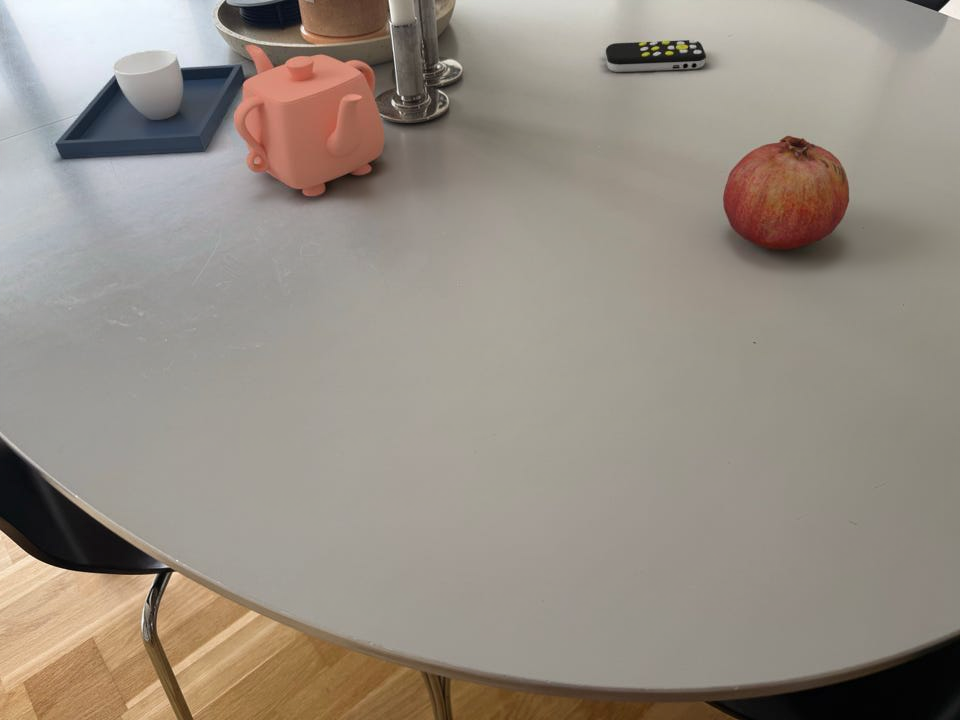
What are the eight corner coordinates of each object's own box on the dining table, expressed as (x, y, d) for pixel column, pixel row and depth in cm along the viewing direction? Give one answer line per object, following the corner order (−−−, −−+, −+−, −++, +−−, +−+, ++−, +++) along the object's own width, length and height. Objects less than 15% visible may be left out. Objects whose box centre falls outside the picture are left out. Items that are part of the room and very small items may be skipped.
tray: (204, 151, 98) (199, 135, 96) (61, 158, 99) (54, 143, 97) (245, 78, 114) (241, 64, 112) (122, 85, 115) (116, 71, 113)
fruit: (840, 220, 78) (867, 122, 72) (832, 279, 71) (860, 177, 65) (727, 204, 82) (742, 109, 75) (708, 258, 75) (723, 160, 68)
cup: (142, 132, 101) (123, 79, 97) (118, 107, 108) (99, 56, 103) (201, 113, 105) (185, 61, 100) (174, 89, 111) (158, 39, 106)
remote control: (604, 55, 112) (605, 41, 110) (699, 51, 111) (700, 36, 109) (607, 74, 107) (608, 59, 106) (706, 70, 106) (708, 54, 105)
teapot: (378, 206, 86) (359, 89, 77) (228, 204, 88) (193, 91, 79) (404, 139, 97) (390, 31, 88) (270, 139, 99) (244, 34, 90)
